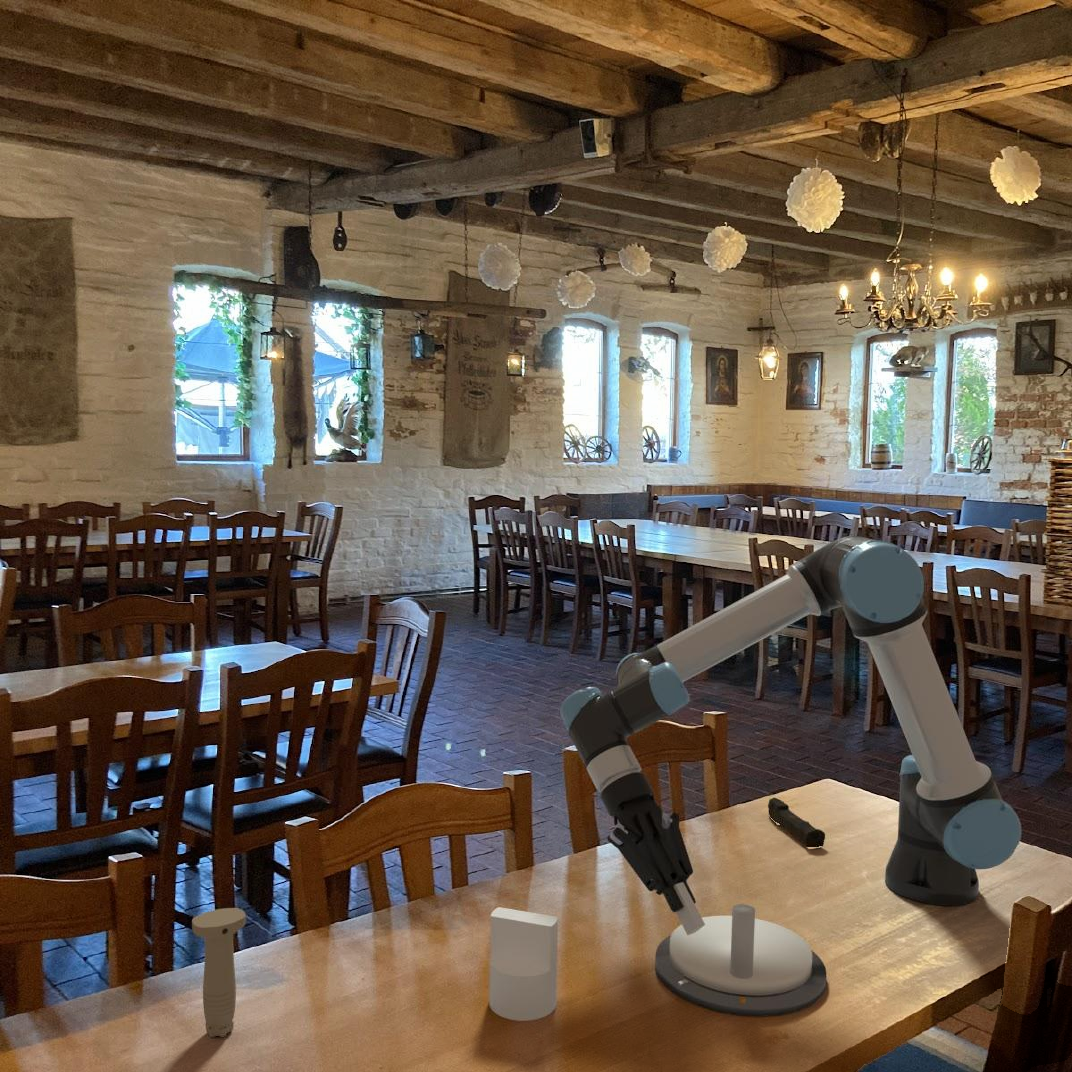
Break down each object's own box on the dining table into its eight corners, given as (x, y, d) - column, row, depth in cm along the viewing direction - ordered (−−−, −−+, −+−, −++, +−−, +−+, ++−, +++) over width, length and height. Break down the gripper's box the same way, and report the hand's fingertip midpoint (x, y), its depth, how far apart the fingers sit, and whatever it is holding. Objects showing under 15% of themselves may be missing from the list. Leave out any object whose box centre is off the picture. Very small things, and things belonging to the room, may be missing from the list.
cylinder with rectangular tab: (564, 993, 146) (566, 908, 145) (543, 1026, 137) (545, 936, 136) (503, 981, 148) (504, 898, 147) (479, 1013, 140) (480, 925, 139)
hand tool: (825, 850, 200) (826, 826, 200) (806, 851, 199) (807, 827, 199) (781, 816, 219) (782, 794, 218) (763, 817, 218) (764, 795, 217)
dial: (672, 922, 164) (674, 853, 163) (805, 935, 160) (808, 864, 159) (666, 987, 144) (668, 908, 143) (818, 1002, 141) (821, 922, 140)
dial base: (787, 930, 166) (788, 918, 166) (855, 1010, 142) (855, 998, 142) (637, 937, 162) (638, 926, 162) (681, 1021, 139) (681, 1008, 139)
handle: (188, 1030, 134) (187, 916, 133) (238, 1016, 138) (237, 904, 137) (199, 1049, 130) (199, 931, 129) (251, 1033, 134) (250, 918, 133)
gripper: (640, 787, 168) (714, 929, 156) (576, 802, 160) (648, 953, 148) (665, 763, 163) (742, 907, 151) (600, 777, 155) (676, 930, 143)
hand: (696, 930), depth 149 cm, fingers closed
